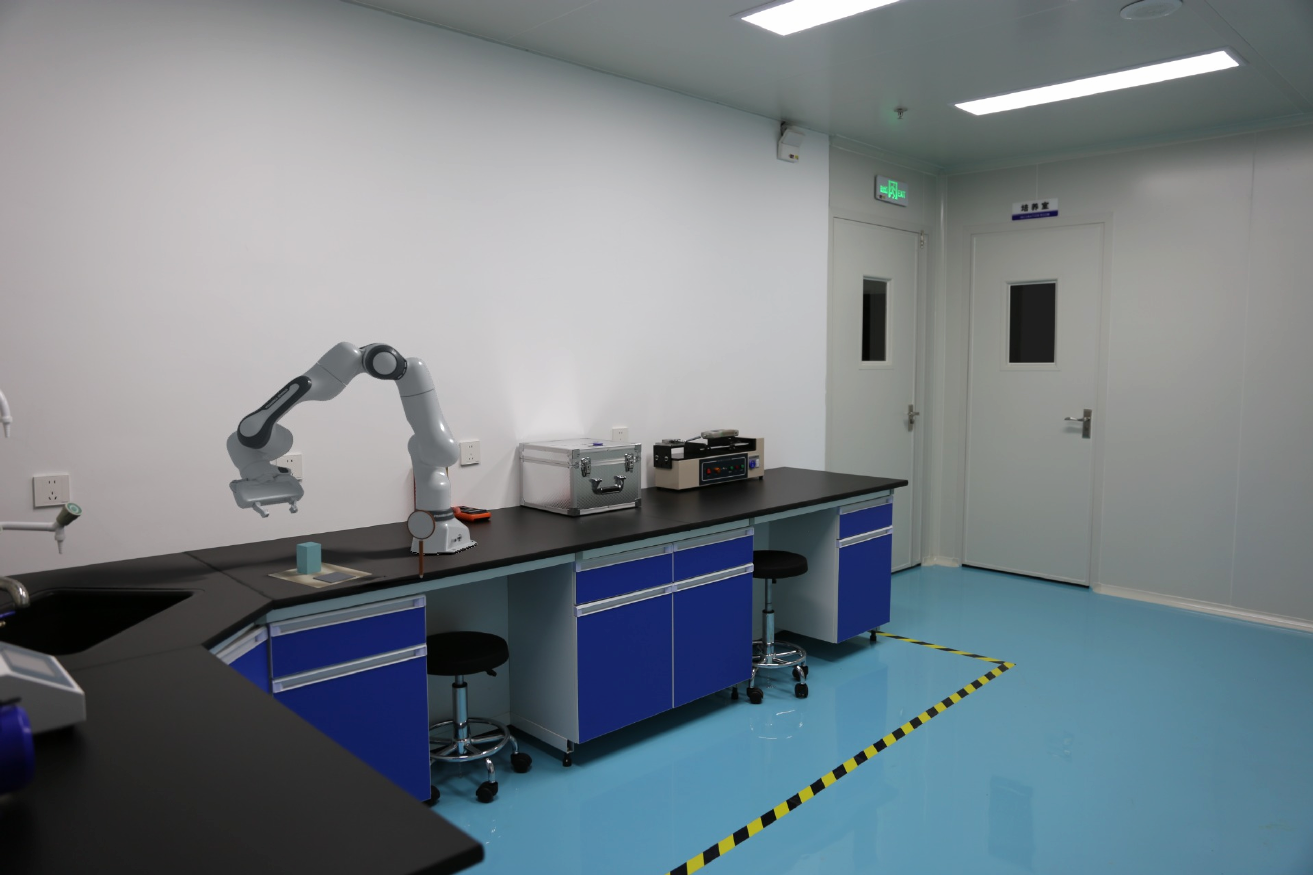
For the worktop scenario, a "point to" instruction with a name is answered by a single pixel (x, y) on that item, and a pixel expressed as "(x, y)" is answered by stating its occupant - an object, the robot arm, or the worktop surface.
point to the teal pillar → (308, 558)
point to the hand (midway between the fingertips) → (280, 514)
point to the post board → (325, 569)
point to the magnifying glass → (421, 530)
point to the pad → (334, 577)
